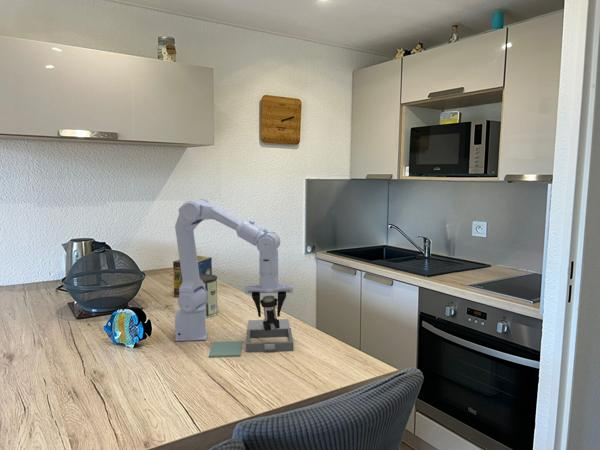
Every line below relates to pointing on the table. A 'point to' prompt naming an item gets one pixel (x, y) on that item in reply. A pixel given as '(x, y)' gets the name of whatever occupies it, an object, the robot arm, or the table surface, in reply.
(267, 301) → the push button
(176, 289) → the protein box
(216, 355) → the mat
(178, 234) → the robot arm
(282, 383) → the table surface
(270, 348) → the equipment case
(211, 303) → the coffee can
